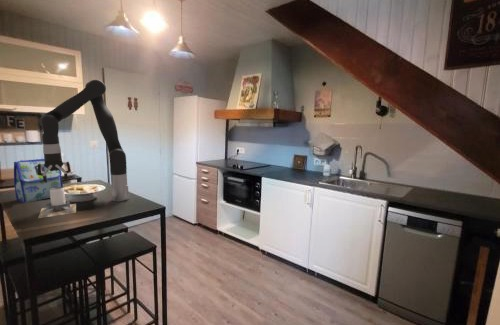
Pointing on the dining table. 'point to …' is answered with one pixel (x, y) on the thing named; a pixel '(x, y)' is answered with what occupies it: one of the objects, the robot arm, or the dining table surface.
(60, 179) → the lunch bag
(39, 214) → the shaft board
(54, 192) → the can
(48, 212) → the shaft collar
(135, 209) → the dining table surface
